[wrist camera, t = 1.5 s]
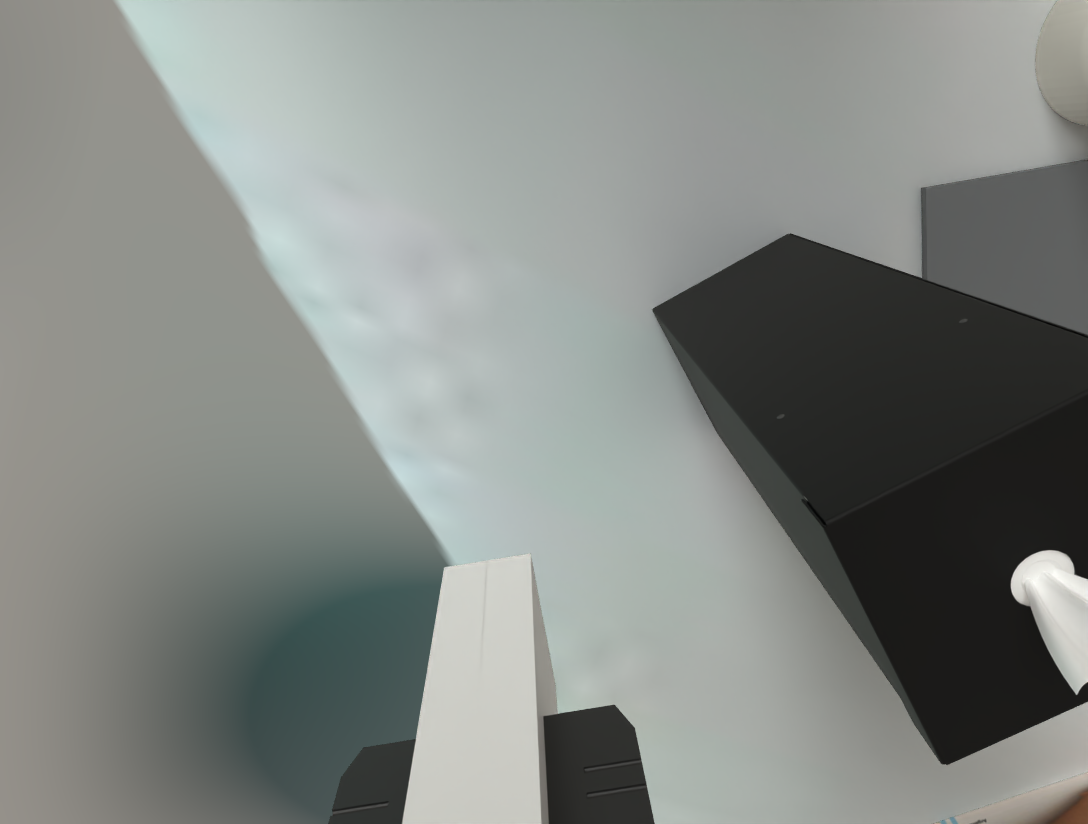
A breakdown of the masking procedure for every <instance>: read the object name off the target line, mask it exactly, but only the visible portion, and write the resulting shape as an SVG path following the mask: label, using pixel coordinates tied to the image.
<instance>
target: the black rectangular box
mask: <svg viewBox="0 0 1088 824" xmlns="http://www.w3.org/2000/svg"><path fill="white" fill-rule="evenodd" d="M653 313H654V314H655V316H656V318H657V320H658V322H659V324H660V326H661V328H662V330H663V331H664V333H665V335H666V337H667V339H668V341H669V343H670V345H671V347H672V349H673V350H674V352H675V354H676V356H677V358H678V360H679V362H680V364H681V366H682V367H683V369H684V371H685V373H686V375H687V377H688V379H689V381H690V383H691V385H692V386H693V388H694V390H695V392H696V394H697V396H698V398H699V400H700V402H701V403H702V405H703V407H704V409H705V411H706V413H707V415H708V417H709V419H710V421H711V422H712V424H713V426H714V428H715V430H716V432H717V433H718V435H719V436H720V438H721V439H722V441H723V442H724V443H725V445H726V446H727V448H728V449H729V451H730V452H731V454H732V455H733V456H734V458H735V459H736V461H737V462H738V464H739V465H740V467H741V468H742V469H743V471H744V472H745V474H746V475H747V477H748V478H749V480H750V481H751V482H752V484H753V485H754V487H755V488H756V490H757V491H758V493H759V494H760V495H761V497H762V498H763V500H764V501H765V503H766V504H767V506H768V507H769V508H770V510H771V511H772V513H773V514H774V516H775V517H776V519H777V520H778V522H779V523H780V524H781V526H782V527H783V529H784V530H785V532H786V533H787V535H788V536H789V537H790V539H791V540H792V542H793V543H794V545H795V546H796V548H797V549H798V550H799V552H800V553H801V555H802V556H803V558H804V559H805V561H806V562H807V563H808V565H809V566H810V568H811V569H812V571H813V572H814V574H815V575H816V576H817V578H818V579H819V581H820V582H821V584H822V585H823V587H824V588H825V589H826V591H827V592H828V594H829V595H830V597H831V598H832V600H833V601H834V602H835V604H836V605H837V607H838V608H839V610H840V611H841V613H842V614H843V615H844V617H845V618H846V620H847V621H848V623H849V624H850V626H851V627H852V629H853V630H854V631H855V633H856V634H857V636H858V637H859V639H860V640H861V642H862V643H863V644H864V646H865V647H866V649H867V650H868V652H869V653H870V655H871V656H872V657H873V659H874V660H875V662H876V663H877V665H878V666H879V668H880V669H881V670H882V672H883V673H884V675H885V676H886V678H887V679H888V681H889V682H890V683H891V685H892V686H893V688H894V689H895V691H896V692H897V694H898V695H899V696H900V698H901V700H902V702H903V704H904V706H905V708H906V710H907V712H908V714H909V716H910V718H911V719H912V721H913V723H914V725H915V726H916V728H917V729H918V731H919V732H920V734H921V735H922V736H923V738H924V739H925V741H926V742H927V744H928V745H929V747H930V748H931V750H932V751H933V753H934V754H935V755H936V757H937V758H938V760H939V761H940V763H941V764H946V765H948V764H951V763H953V762H955V761H957V760H959V759H962V758H964V757H966V756H968V755H971V754H973V753H975V752H977V751H979V750H982V749H984V748H986V747H988V746H991V745H993V744H995V743H997V742H999V741H1002V740H1004V739H1006V738H1008V737H1011V736H1013V735H1015V734H1017V733H1019V732H1022V731H1024V730H1026V729H1028V728H1030V727H1033V726H1035V725H1037V724H1039V723H1042V722H1044V721H1046V720H1048V719H1050V718H1053V717H1055V716H1057V715H1059V714H1062V713H1064V712H1066V711H1068V710H1070V709H1073V708H1075V707H1077V706H1079V705H1082V704H1084V703H1086V702H1088V335H1087V334H1084V333H1081V332H1078V331H1075V330H1072V329H1069V328H1066V327H1063V326H1060V325H1057V324H1054V323H1052V322H1049V321H1046V320H1043V319H1040V318H1037V317H1034V316H1031V315H1028V314H1025V313H1022V312H1019V311H1016V310H1013V309H1010V308H1008V307H1005V306H1002V305H999V304H996V303H993V302H990V301H987V300H984V299H981V298H978V297H975V296H972V295H969V294H966V293H963V292H961V291H958V290H955V289H952V288H949V287H946V286H943V285H940V284H937V283H934V282H931V281H928V280H925V279H922V278H919V277H917V276H914V275H911V274H908V273H905V272H902V271H899V270H896V269H893V268H890V267H887V266H884V265H881V264H878V263H875V262H873V261H870V260H867V259H864V258H861V257H858V256H855V255H852V254H849V253H846V252H843V251H840V250H837V249H834V248H831V247H829V246H826V245H823V244H820V243H817V242H814V241H811V240H808V239H805V238H802V237H799V236H796V235H793V234H787V235H785V236H783V237H781V238H780V239H778V240H776V241H774V242H772V243H771V244H769V245H767V246H765V247H763V248H762V249H760V250H758V251H756V252H754V253H753V254H751V255H749V256H747V257H745V258H744V259H742V260H740V261H738V262H736V263H735V264H733V265H731V266H729V267H727V268H726V269H724V270H722V271H720V272H718V273H717V274H715V275H713V276H711V277H709V278H707V279H706V280H704V281H702V282H700V283H698V284H697V285H695V286H693V287H691V288H689V289H688V290H686V291H684V292H682V293H680V294H679V295H677V296H675V297H673V298H671V299H670V300H668V301H666V302H664V303H662V304H661V305H659V306H657V307H655V308H653Z"/></svg>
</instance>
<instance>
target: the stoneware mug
mask: <svg viewBox="0 0 1088 824" xmlns="http://www.w3.org/2000/svg"><path fill="white" fill-rule="evenodd" d="M1035 71H1036V77H1037V82H1038V85H1039V88H1040V91H1041V93H1042V95H1043V97H1044V99H1045V100H1046V102H1047V103H1048V105H1049V106H1050V107H1051V108H1052V109H1053V110H1054V111H1055V112H1056V113H1057V114H1059V115H1060V116H1061V117H1063V118H1065V119H1067V120H1068V121H1071V122H1074V123H1077V124H1081V125H1086V126H1088V0H1058V1H1057V2H1056V3H1055V5H1054V6H1053V8H1052V9H1051V11H1050V13H1049V14H1048V16H1047V18H1046V20H1045V22H1044V24H1043V26H1042V29H1041V32H1040V35H1039V38H1038V42H1037V47H1036V56H1035Z"/></svg>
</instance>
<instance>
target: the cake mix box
mask: <svg viewBox="0 0 1088 824" xmlns="http://www.w3.org/2000/svg"><path fill="white" fill-rule="evenodd" d="M933 824H1088V772H1086V773H1083V774H1080V775H1077V776H1074V777H1071V778H1068V779H1065V780H1062V781H1059V782H1056V783H1053V784H1050V785H1047V786H1044V787H1041V788H1038V789H1035V790H1032V791H1029V792H1026V793H1023V794H1020V795H1017V796H1014V797H1011V798H1008V799H1005V800H1002V801H999V802H996V803H993V804H990V805H987V806H984V807H981V808H978V809H975V810H972V811H969V812H966V813H963V814H960V815H957V816H954V817H951V818H948V819H945V820H942V821H939V822H936V823H933Z"/></svg>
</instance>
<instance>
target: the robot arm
mask: <svg viewBox="0 0 1088 824" xmlns="http://www.w3.org/2000/svg"><path fill="white" fill-rule="evenodd" d="M332 811H333V815H332V816H331V817H330V820H329V823H328V824H654V819H653V814H652V809H651V804H650V800H649V795H648V790H647V785H646V780H645V775H644V771H643V766H642V761H641V756H640V751H639V746H638V741H637V737H636V732H635V728H634V727H633V725H632V724H631V723H630V722H629V721H628V720H627V719H626V717H625V716H624V715H623V714H622V713H621V712H620V711H619V709H618V708H617V707H616V706H615V705H610V706H604V707H597V708H591V709H585V710H579V711H572V712H566V713H560V714H558V711H557V698H556V685H555V680H554V675H553V669H552V664H551V659H550V654H549V648H548V643H547V638H546V632H545V627H544V622H543V617H542V611H541V606H540V601H539V596H538V590H537V585H536V580H535V574H534V569H533V564H532V559H531V553H530V554H524V555H517V556H511V557H505V558H499V559H493V560H487V561H481V562H475V563H469V564H463V565H456V566H450V567H445V568H444V573H443V579H442V585H441V591H440V597H439V603H438V609H437V616H436V621H435V627H434V634H433V640H432V646H431V652H430V657H429V664H428V670H427V676H426V682H425V688H424V694H423V700H422V706H421V712H420V719H419V724H418V730H417V736H416V739H414V740H407V741H402V742H395V743H389V744H382V745H376V746H370V747H364V748H363V749H362V750H361V751H360V753H359V754H358V755H357V757H356V758H355V760H354V761H353V762H352V763H351V765H350V766H349V767H348V769H347V770H346V772H345V773H344V774H343V776H342V777H341V779H340V783H339V787H338V790H337V794H336V798H335V801H334V805H333V809H332Z"/></svg>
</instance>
